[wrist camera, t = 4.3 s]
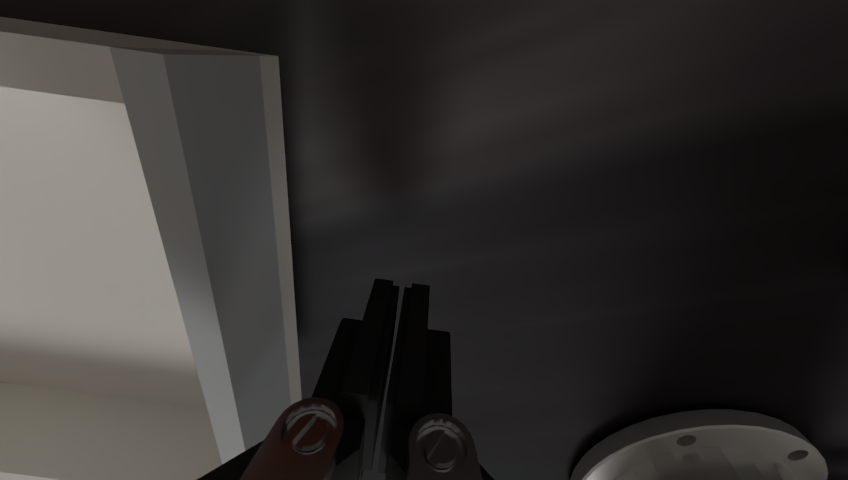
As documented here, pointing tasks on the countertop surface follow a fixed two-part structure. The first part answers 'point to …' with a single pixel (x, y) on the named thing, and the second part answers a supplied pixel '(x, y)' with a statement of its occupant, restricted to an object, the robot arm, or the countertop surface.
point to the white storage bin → (140, 255)
